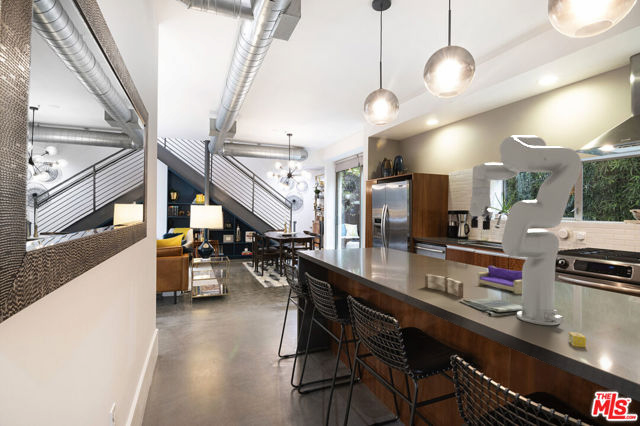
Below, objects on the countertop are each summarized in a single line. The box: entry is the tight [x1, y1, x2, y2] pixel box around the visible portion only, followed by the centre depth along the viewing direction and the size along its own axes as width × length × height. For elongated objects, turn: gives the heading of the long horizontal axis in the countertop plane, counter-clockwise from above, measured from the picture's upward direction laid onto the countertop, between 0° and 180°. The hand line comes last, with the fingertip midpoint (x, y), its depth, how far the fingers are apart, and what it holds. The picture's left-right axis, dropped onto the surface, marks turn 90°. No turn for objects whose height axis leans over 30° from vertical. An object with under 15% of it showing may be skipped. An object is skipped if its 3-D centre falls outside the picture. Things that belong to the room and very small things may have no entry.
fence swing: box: [424, 273, 446, 292], centre depth 155 cm, size 10×2×6 cm, turn 42°
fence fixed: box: [444, 276, 464, 299], centre depth 145 cm, size 12×2×7 cm, turn 12°
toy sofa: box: [476, 265, 522, 295], centre depth 157 cm, size 21×9×10 cm, turn 24°
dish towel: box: [457, 297, 522, 318], centre depth 128 cm, size 19×18×3 cm
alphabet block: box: [567, 331, 587, 348], centre depth 93 cm, size 3×3×3 cm
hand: (480, 228), depth 152 cm, fingers open, 9 cm apart
